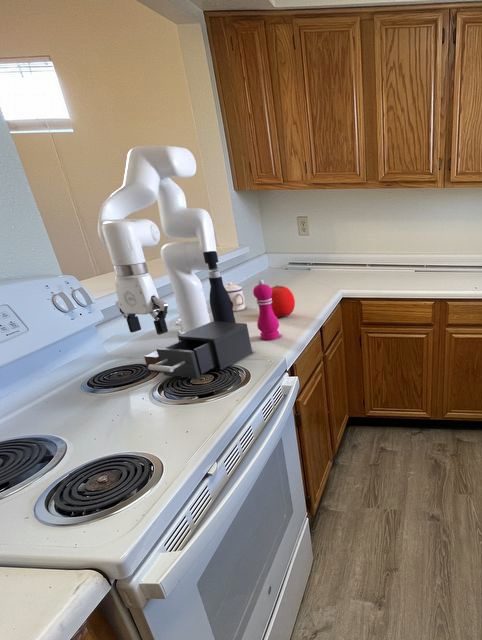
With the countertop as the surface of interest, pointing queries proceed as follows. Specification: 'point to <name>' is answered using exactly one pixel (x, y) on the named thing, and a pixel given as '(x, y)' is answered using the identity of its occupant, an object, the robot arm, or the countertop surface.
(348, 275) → the countertop surface
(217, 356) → the cabinet
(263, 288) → the pepper mill
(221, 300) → the wine bottle
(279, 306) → the tomato
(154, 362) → the block
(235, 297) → the teacup with lid
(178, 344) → the drawer
